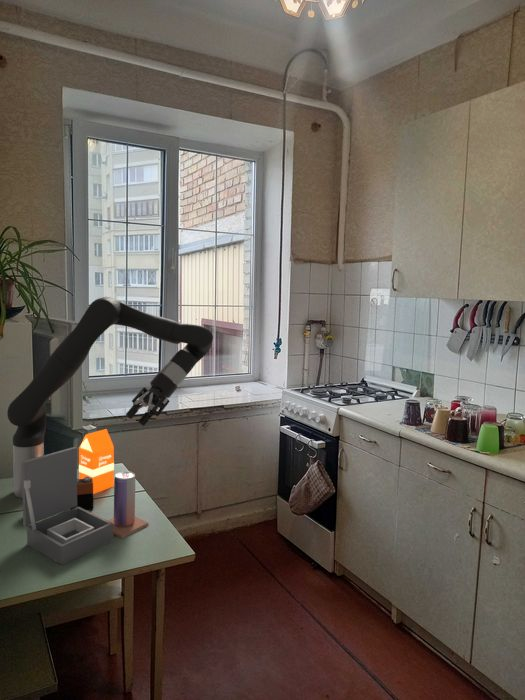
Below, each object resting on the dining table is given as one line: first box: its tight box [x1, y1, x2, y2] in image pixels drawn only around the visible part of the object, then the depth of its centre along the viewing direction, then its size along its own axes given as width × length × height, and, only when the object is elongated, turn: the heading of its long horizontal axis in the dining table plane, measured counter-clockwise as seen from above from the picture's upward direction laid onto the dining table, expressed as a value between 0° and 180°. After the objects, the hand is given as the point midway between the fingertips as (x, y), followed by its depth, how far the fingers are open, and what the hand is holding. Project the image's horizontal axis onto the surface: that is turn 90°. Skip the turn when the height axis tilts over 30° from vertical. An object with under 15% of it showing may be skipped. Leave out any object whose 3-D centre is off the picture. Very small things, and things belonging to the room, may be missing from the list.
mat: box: [107, 516, 149, 539], centre depth 149 cm, size 10×10×1 cm
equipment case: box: [22, 446, 114, 566], centre depth 138 cm, size 18×16×23 cm
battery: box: [69, 477, 94, 511], centre depth 158 cm, size 4×7×10 cm, turn 111°
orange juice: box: [78, 428, 115, 495], centre depth 174 cm, size 8×9×20 cm
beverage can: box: [113, 470, 136, 527], centre depth 148 cm, size 6×6×15 cm
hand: (134, 420), depth 151 cm, fingers open, 8 cm apart
